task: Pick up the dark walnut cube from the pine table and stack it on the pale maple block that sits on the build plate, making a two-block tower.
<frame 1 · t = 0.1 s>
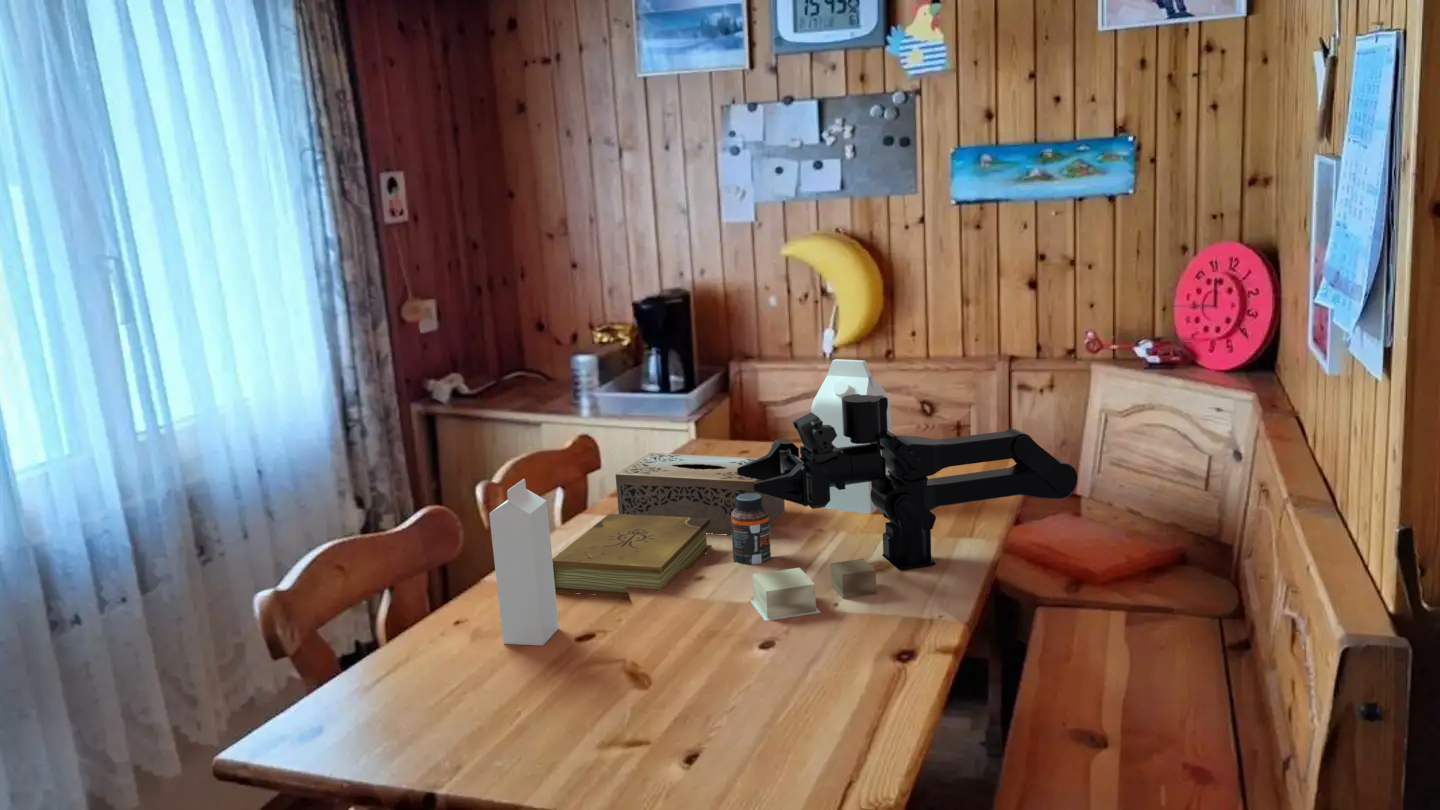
hand: (745, 479, 179), 17 cm above the table, tool horizontal, fingers open, 9 cm apart
tissue box cover: (703, 522, 215), on the table
maple block: (784, 606, 170), point 1 cm above the table, touching build plate
supplement bottle: (752, 566, 191), on the table
diary: (633, 572, 193), on the table
milk: (531, 637, 168), on the table
walnut cube: (854, 599, 175), on the table
build plate: (785, 614, 170), on the table
milk 2: (854, 502, 220), on the table
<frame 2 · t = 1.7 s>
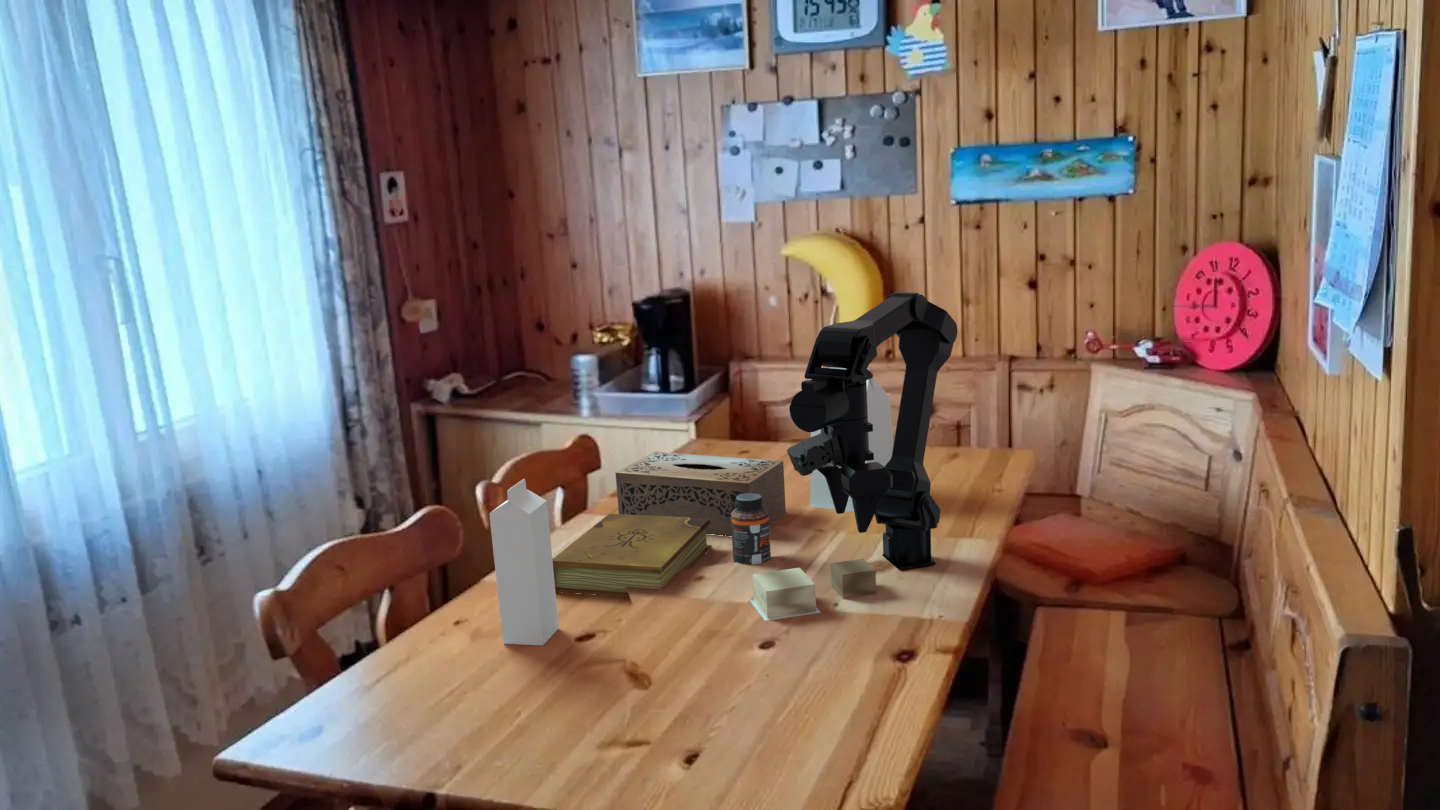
hand: (851, 522, 172), 11 cm above the table, tool pointing down, fingers open, 9 cm apart
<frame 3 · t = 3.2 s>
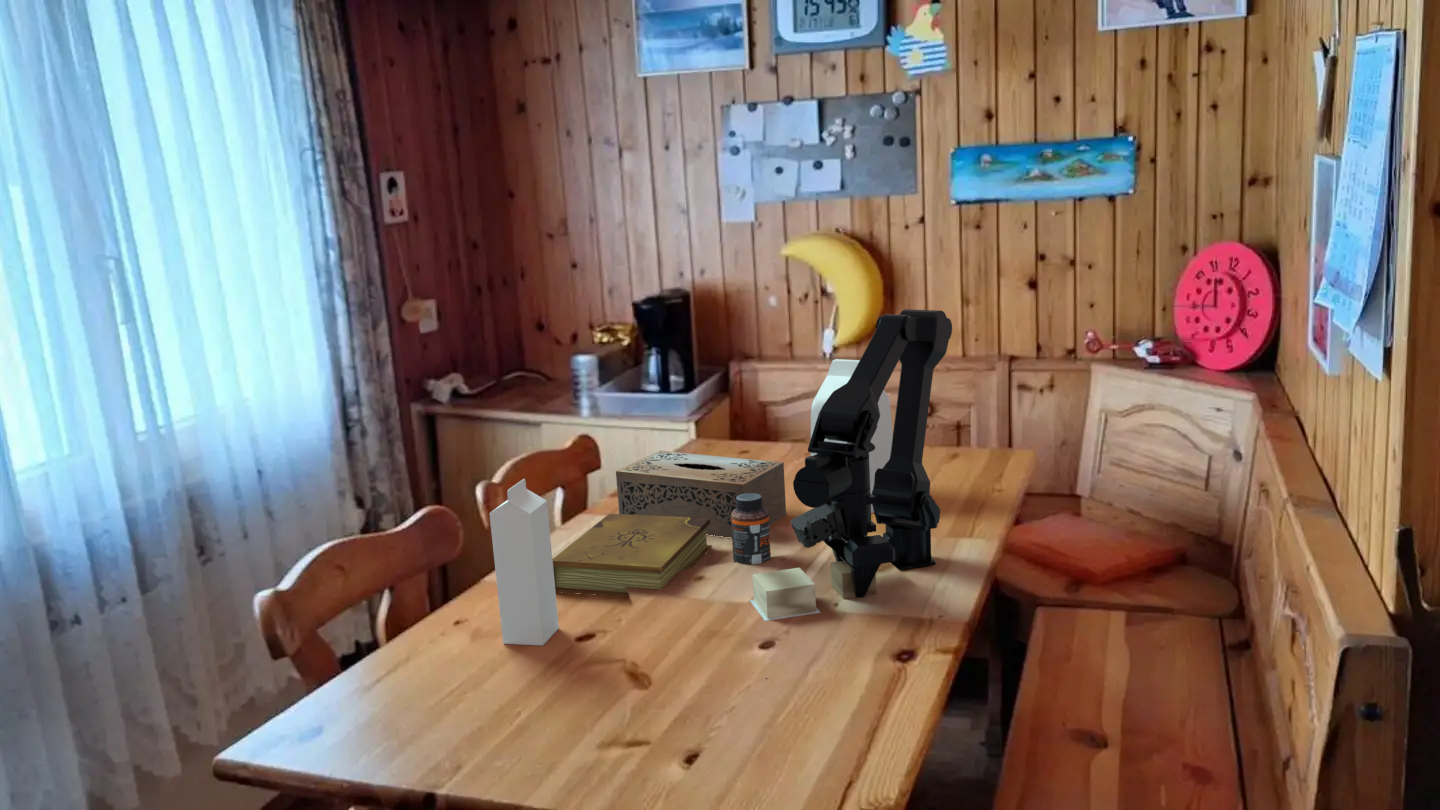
hand: (853, 591, 175), 1 cm above the table, tool pointing down, fingers closed on walnut cube, 5 cm apart
walnut cube: (854, 598, 175), on the table, touching gripper
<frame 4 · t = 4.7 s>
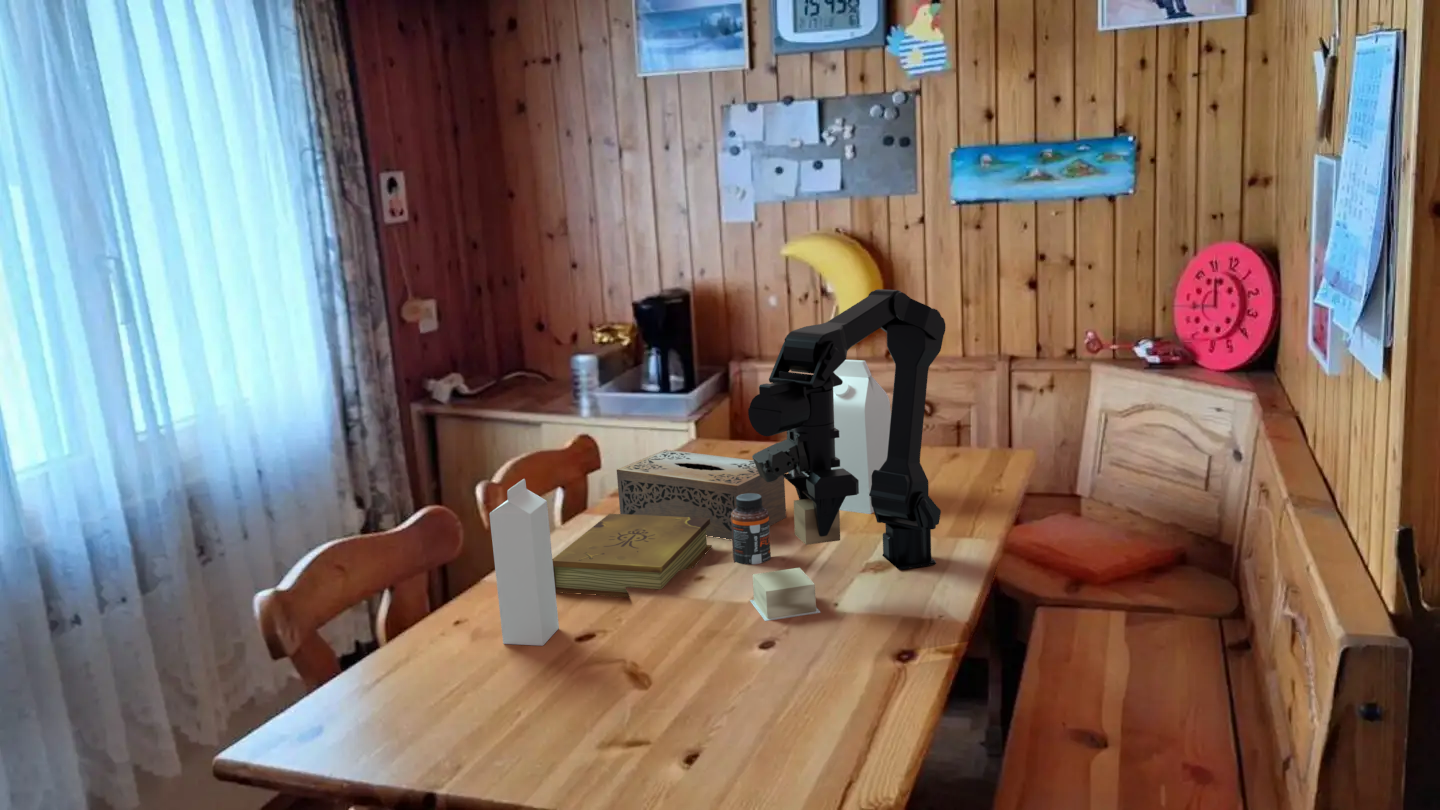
hand: (816, 530, 170), 11 cm above the table, tool pointing down, fingers closed on walnut cube, 5 cm apart
walnut cube: (817, 537, 170), point 10 cm above the table, touching gripper
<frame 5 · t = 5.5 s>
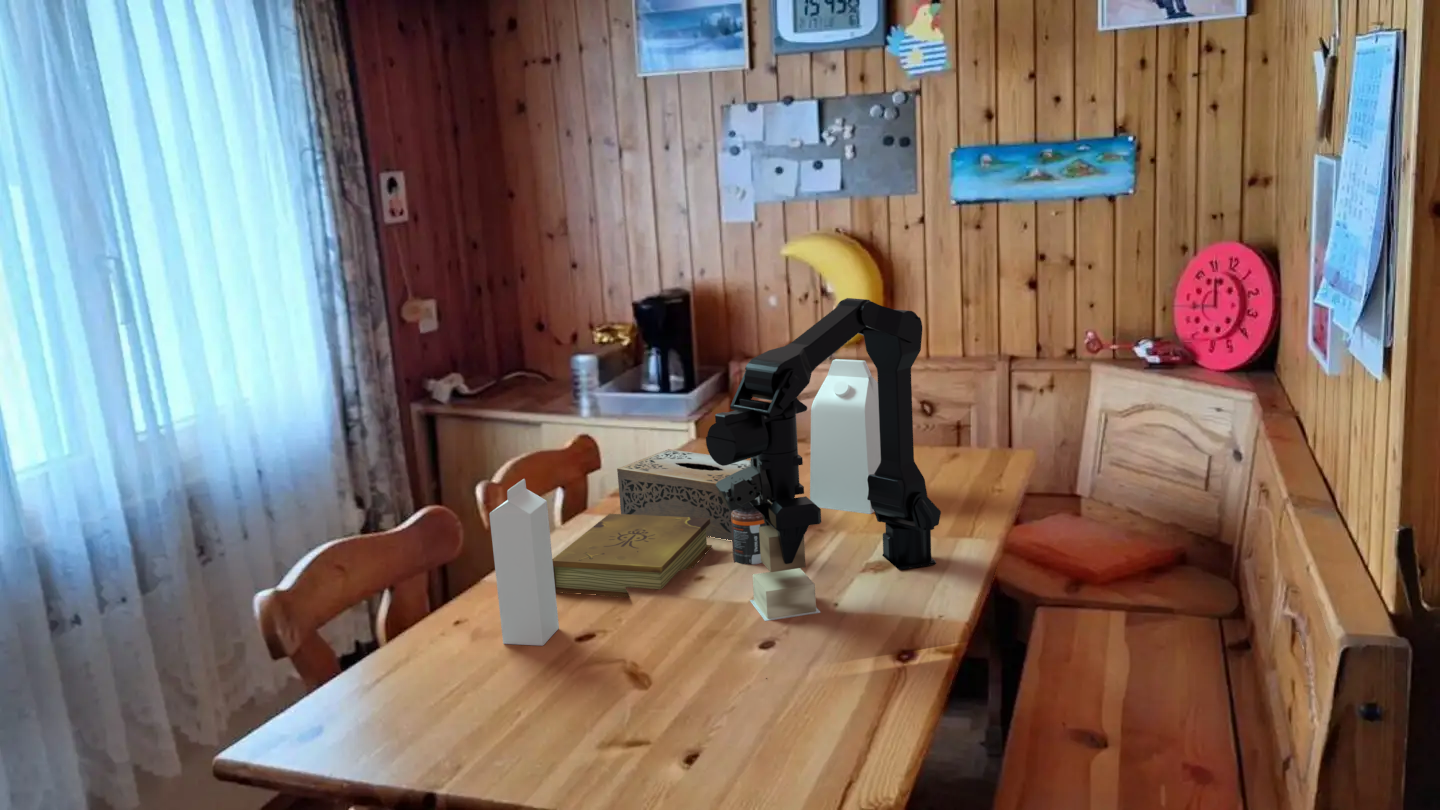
hand: (782, 557, 169), 9 cm above the table, tool pointing down, fingers closed on walnut cube, 5 cm apart
walnut cube: (783, 563, 169), point 8 cm above the table, touching gripper
when the fingers open (8 cm above the table, at t = 6.0 s): walnut cube drops 1 cm, resting on maple block.
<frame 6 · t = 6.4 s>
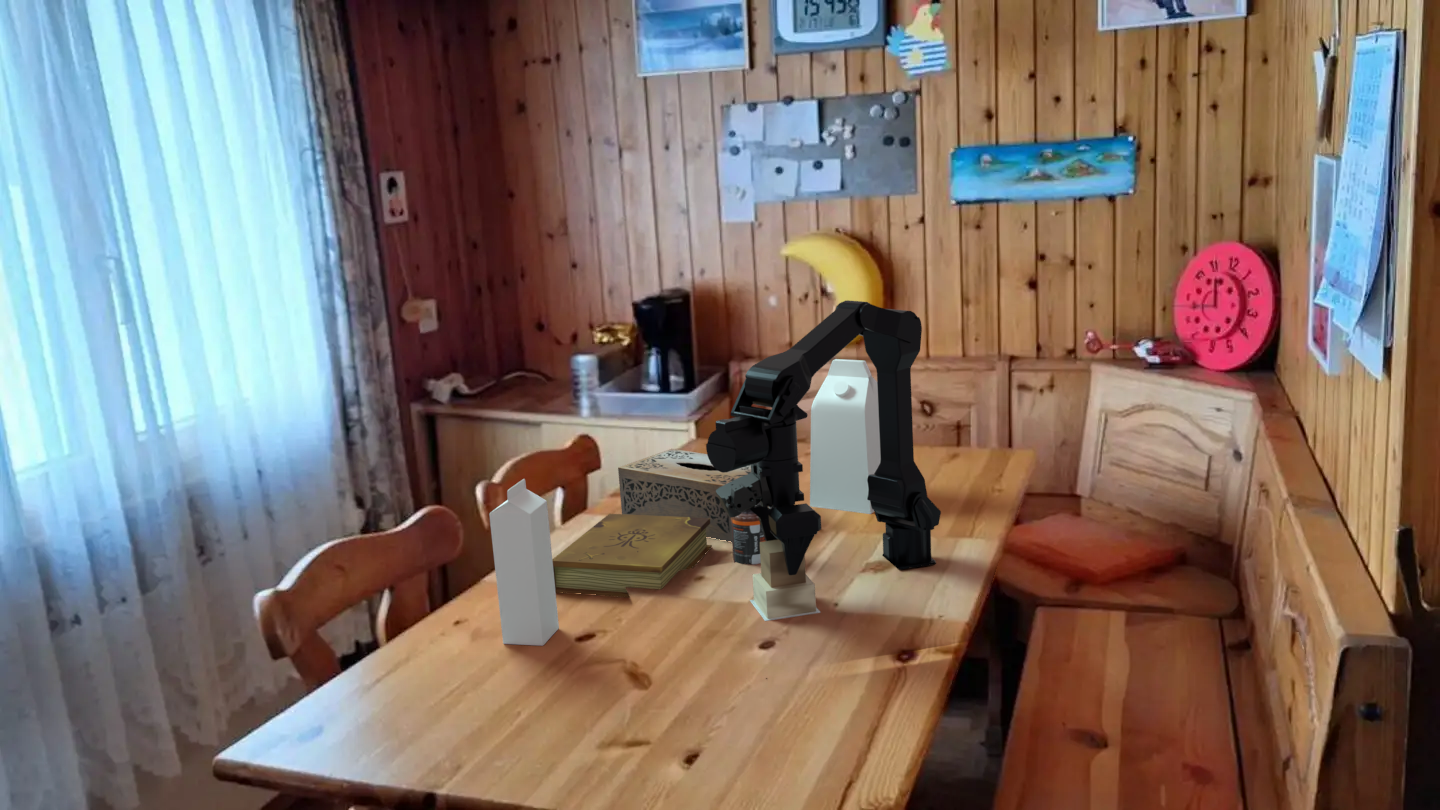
hand: (782, 563, 169), 8 cm above the table, tool pointing down, fingers open, 9 cm apart
maple block: (784, 606, 170), point 1 cm above the table, touching build plate, walnut cube
walnut cube: (783, 579, 169), point 5 cm above the table, touching maple block
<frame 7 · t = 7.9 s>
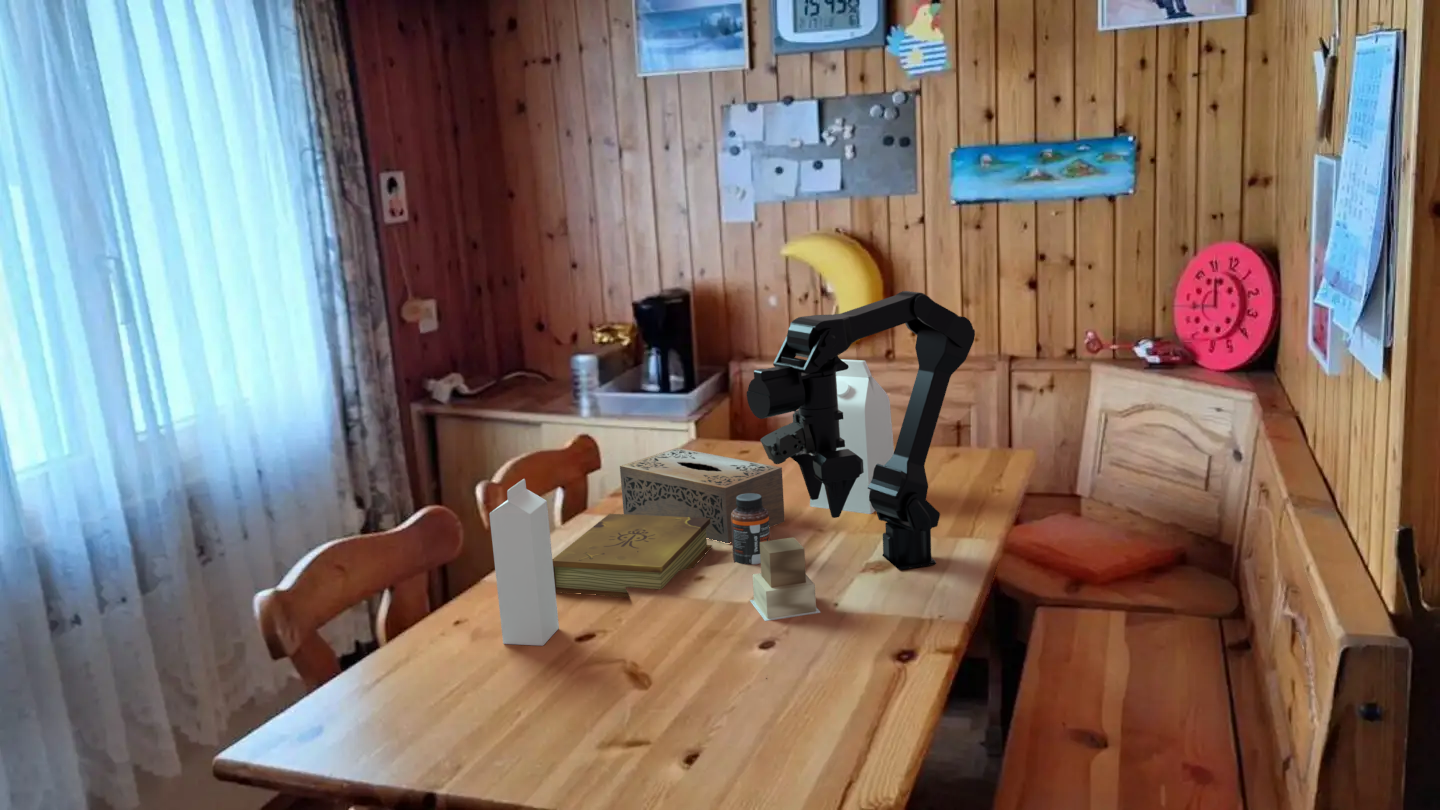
hand: (824, 508, 177), 12 cm above the table, tool pointing down, fingers open, 9 cm apart
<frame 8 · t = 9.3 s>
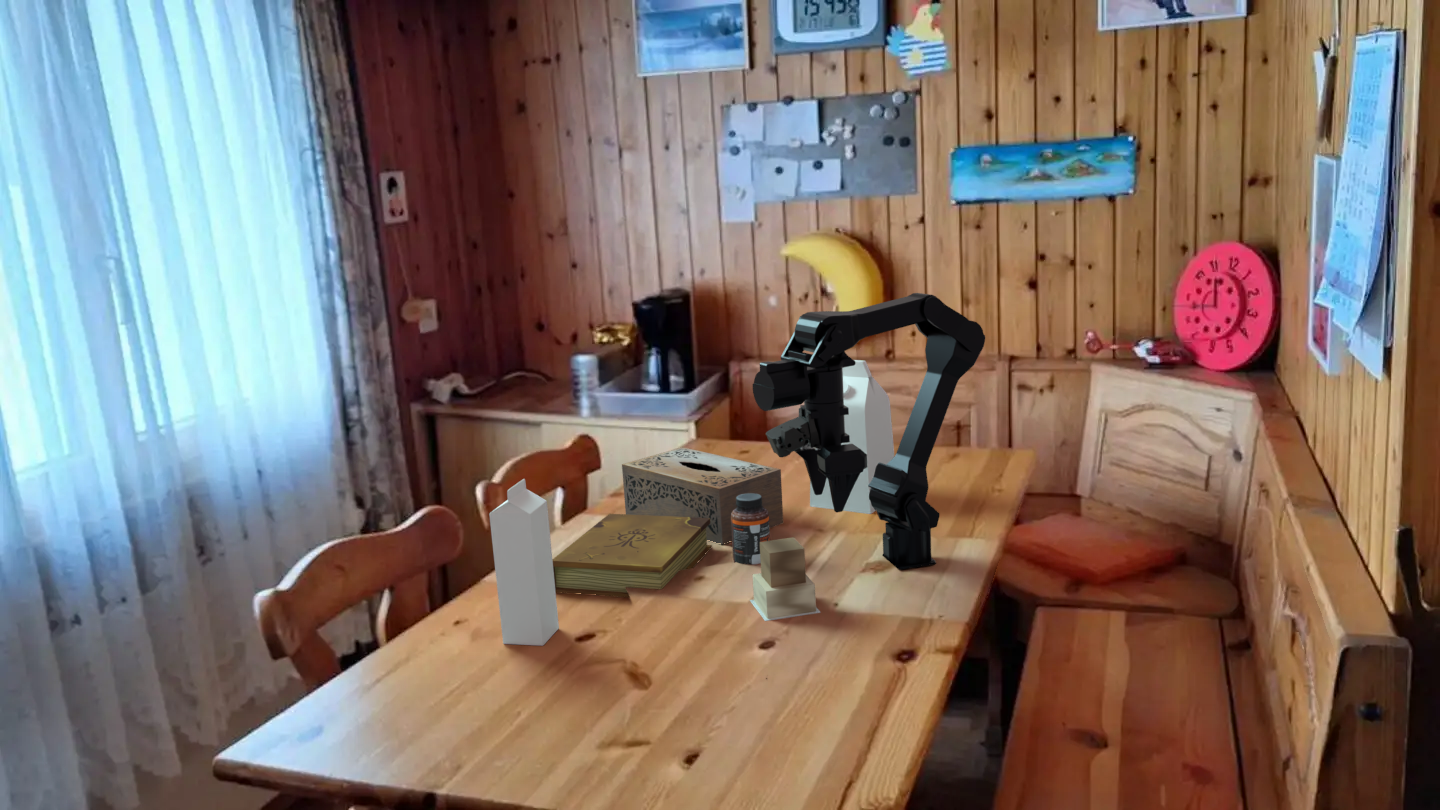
hand: (828, 503, 178), 13 cm above the table, tool pointing down, fingers open, 9 cm apart
at the end: walnut cube 0.0 cm off-centre on the maple block, point 4.0 cm above the maple block's base; walnut cube tilted 0°; the gripper is holding nothing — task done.
